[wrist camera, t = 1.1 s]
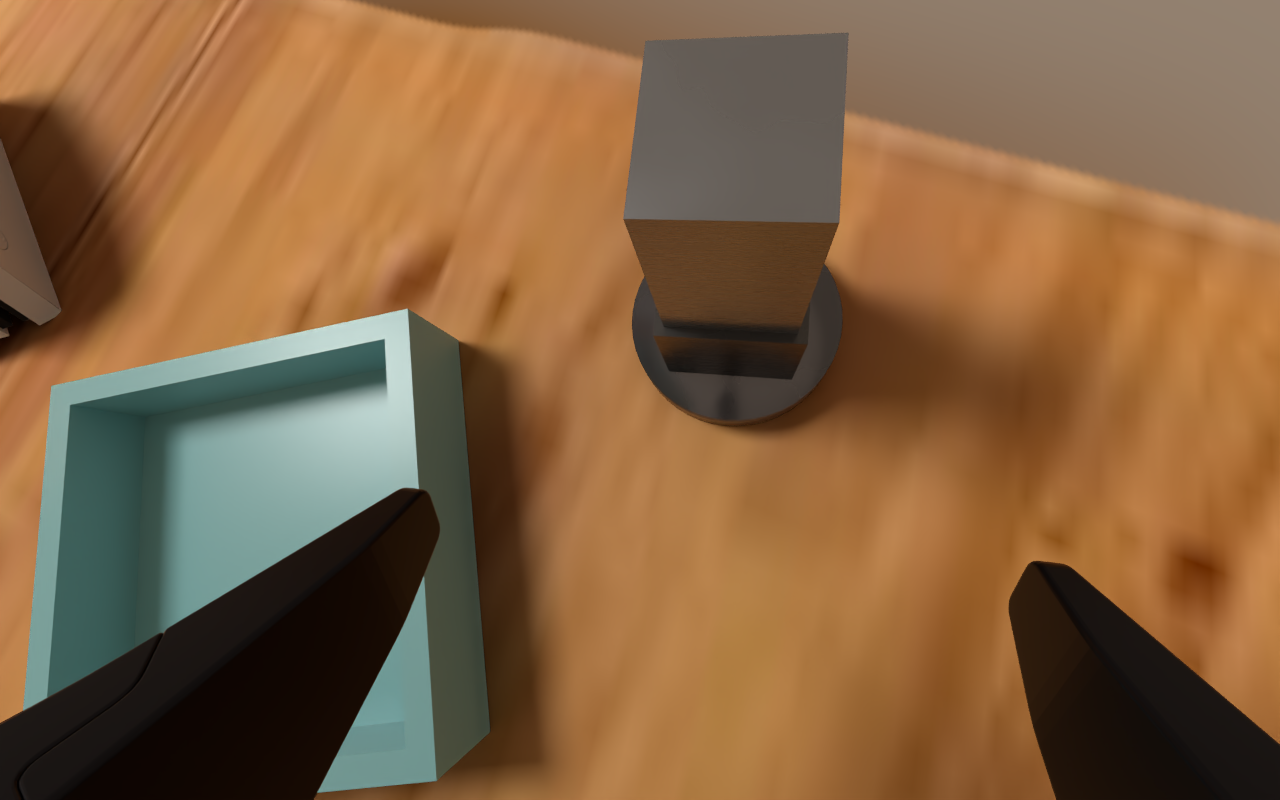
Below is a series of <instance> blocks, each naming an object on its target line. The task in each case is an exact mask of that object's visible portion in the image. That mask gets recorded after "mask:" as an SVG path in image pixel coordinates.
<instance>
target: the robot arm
mask: <svg viewBox="0 0 1280 800" xmlns="http://www.w3.org/2000/svg"><path fill="white" fill-rule="evenodd" d="M439 535H440V523H439V519H438V517H437V514H436V511H435V508H434V505H433V502H432V499H431V496H430V494H429V493H428V492H427V491H426V490H424V489H416V488H407V487H406V488H401V489H399V490H397V491H395V492H393V493H392V494H390V495H388V496H387V497H385V498H383V499H382V500H380V501H378V502H377V503H375V504H373V505H372V506H370V507H368V508H367V509H365V510H363V511H362V512H360V513H358V514H357V515H355V516H353V517H352V518H350V519H348V520H347V521H345V522H343V523H342V524H340V525H338V526H337V527H335V528H333V529H332V530H330V531H328V532H327V533H325V534H323V535H322V536H320V537H318V538H317V539H315V540H313V541H312V542H310V543H308V544H307V545H305V546H303V547H302V548H300V549H298V550H297V551H295V552H293V553H292V554H290V555H288V556H287V557H285V558H283V559H282V560H280V561H278V562H277V563H275V564H273V565H272V566H270V567H268V568H267V569H265V570H263V571H262V572H260V573H258V574H257V575H255V576H253V577H252V578H250V579H248V580H247V581H245V582H243V583H242V584H240V585H238V586H237V587H235V588H233V589H232V590H230V591H228V592H227V593H225V594H223V595H222V596H220V597H218V598H217V599H215V600H213V601H212V602H210V603H208V604H207V605H205V606H203V607H202V608H200V609H198V610H197V611H195V612H193V613H192V614H190V615H188V616H187V617H185V618H183V619H182V620H180V621H178V622H177V623H175V624H173V625H172V626H170V627H168V628H167V629H166V630H165V632H164V633H158V634H157V635H155V636H153V637H152V638H150V639H148V640H147V641H145V642H143V643H142V644H140V645H138V646H137V647H135V648H133V649H132V650H130V651H128V652H127V653H125V654H123V655H121V656H120V657H118V658H116V659H115V660H113V661H111V662H109V663H108V664H106V665H104V666H103V667H101V668H99V669H97V670H96V671H94V672H92V673H90V674H89V675H87V676H85V677H84V678H82V679H80V680H78V681H76V682H75V683H73V684H71V685H69V686H67V687H66V688H64V689H62V690H60V691H58V692H56V693H55V694H53V695H51V696H49V697H47V698H46V699H44V700H42V701H40V702H38V703H36V704H35V705H33V706H31V707H29V708H27V709H25V710H24V711H22V712H20V713H18V714H16V715H14V716H12V717H11V718H9V719H7V720H5V721H3V722H1V723H0V800H314V798H315V796H316V794H317V792H318V790H319V788H320V787H321V785H322V783H323V781H324V779H325V777H326V775H327V773H328V771H329V769H330V767H331V765H332V763H333V761H334V759H335V758H336V756H337V754H338V752H339V750H340V748H341V746H342V744H343V742H344V740H345V738H346V736H347V734H348V732H349V730H350V729H351V727H352V725H353V723H354V721H355V719H356V717H357V715H358V713H359V711H360V709H361V707H362V705H363V703H364V701H365V700H366V698H367V696H368V694H369V692H370V690H371V688H372V686H373V684H374V682H375V680H376V678H377V676H378V674H379V672H380V671H381V669H382V667H383V665H384V663H385V661H386V659H387V657H388V655H389V653H390V651H391V649H392V647H393V645H394V643H395V642H396V640H397V638H398V636H399V634H400V632H401V630H402V627H403V625H404V623H405V621H406V619H407V617H408V614H409V612H410V610H411V607H412V605H413V602H414V600H415V597H416V594H417V592H418V589H419V587H420V584H421V582H422V579H423V577H424V574H425V572H426V569H427V567H428V564H429V562H430V559H431V557H432V554H433V551H434V549H435V546H436V544H437V541H438V539H439ZM1009 616H1010V621H1011V626H1012V631H1013V635H1014V640H1015V645H1016V650H1017V655H1018V659H1019V664H1020V669H1021V674H1022V679H1023V684H1024V688H1025V693H1026V698H1027V703H1028V708H1029V712H1030V716H1031V720H1032V724H1033V728H1034V731H1035V735H1036V738H1037V741H1038V745H1039V748H1040V751H1041V754H1042V757H1043V760H1044V763H1045V766H1046V769H1047V772H1048V775H1049V779H1050V782H1051V785H1052V788H1053V791H1054V794H1055V797H1056V800H1280V744H1279V743H1278V742H1276V741H1275V740H1274V739H1273V738H1272V737H1270V736H1269V735H1268V734H1267V733H1266V732H1265V731H1263V730H1262V729H1261V728H1260V727H1259V726H1258V725H1256V724H1255V723H1254V722H1253V721H1252V720H1250V719H1249V718H1248V717H1247V716H1246V715H1245V714H1243V713H1242V712H1241V711H1240V710H1239V709H1237V708H1236V707H1235V706H1234V705H1233V704H1232V703H1230V702H1229V701H1228V700H1227V699H1226V698H1225V697H1223V696H1222V695H1221V694H1220V693H1219V692H1217V691H1216V690H1215V689H1214V688H1213V687H1212V686H1210V685H1209V684H1208V683H1207V682H1206V681H1205V680H1203V679H1202V678H1201V677H1200V676H1199V675H1197V674H1196V673H1195V672H1194V671H1193V670H1192V669H1190V668H1189V667H1188V666H1187V665H1186V664H1184V663H1183V662H1182V661H1181V660H1180V659H1179V658H1177V657H1176V656H1175V655H1174V654H1173V653H1172V652H1170V651H1169V650H1168V649H1167V648H1166V647H1164V646H1163V645H1162V644H1161V643H1160V642H1159V641H1157V640H1156V639H1155V638H1154V637H1153V636H1151V635H1150V634H1149V633H1148V632H1147V631H1146V630H1144V629H1143V628H1142V627H1141V626H1140V625H1139V624H1137V623H1136V622H1135V621H1134V620H1133V619H1131V618H1130V617H1129V616H1128V615H1127V614H1126V613H1124V612H1123V611H1122V610H1121V609H1120V608H1119V607H1117V606H1116V605H1115V604H1114V603H1113V602H1111V601H1110V600H1109V599H1108V598H1107V597H1106V596H1104V595H1103V594H1102V593H1101V592H1100V591H1098V590H1097V589H1096V588H1095V587H1094V586H1093V585H1091V584H1090V583H1089V582H1088V581H1087V580H1086V579H1084V578H1083V577H1082V576H1081V575H1080V574H1078V573H1077V572H1076V571H1075V570H1074V569H1072V568H1071V567H1069V566H1067V565H1065V564H1060V563H1052V562H1044V561H1033V562H1031V563H1029V564H1028V565H1027V567H1026V569H1025V570H1024V572H1023V574H1022V576H1021V578H1020V580H1019V582H1018V583H1017V585H1016V587H1015V589H1014V591H1013V593H1012V595H1011V597H1010V600H1009Z"/></svg>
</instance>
